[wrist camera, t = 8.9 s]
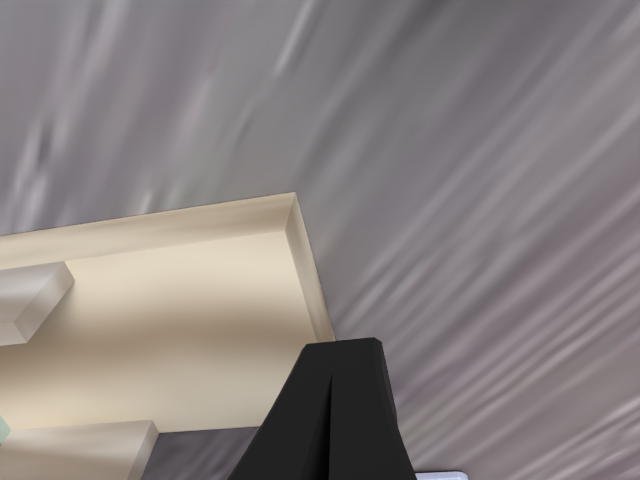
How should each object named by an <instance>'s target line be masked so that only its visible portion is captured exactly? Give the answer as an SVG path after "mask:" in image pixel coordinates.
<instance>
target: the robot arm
mask: <svg viewBox="0 0 640 480" xmlns="http://www.w3.org/2000/svg"><path fill="white" fill-rule="evenodd" d="M227 480H468V477H467V475H466V474H464V473H462V472H457V471H454V472H433V473H415V472H414V470H413V467H412V465H411V462H410V460H409V457H408V455H407V452H406V449H405V447H404V444H403V441H402V438H401V435H400V432H399V429H398V425H397V415H396V408H395V404H394V399H393V394H392V389H391V385H390V380H389V375H388V370H387V366H386V361H385V356H384V351H383V347H382V342H381V341H379V340H378V339H376V338H374V337H373V338H362V339H352V340H341V341H331V342H320V343H310V344H306V345H305V346H304V348H303V349H302V350H301V352H300V354H299V356H298V358H297V360H296V362H295V364H294V366H293V368H292V370H291V372H290V374H289V376H288V378H287V380H286V382H285V384H284V386H283V388H282V389H281V391H280V393H279V395H278V397H277V399H276V400H275V402H274V404H273V406H272V408H271V409H270V411H269V413H268V415H267V416H266V418H265V420H264V421H263V423H262V425H261V426H260V428H259V430H258V432H257V433H256V435H255V437H254V438H253V440H252V442H251V443H250V445H249V447H248V448H247V450H246V452H245V453H244V455H243V456H242V458H241V459H240V461H239V462H238V464H237V465H236V467H235V468H234V470H233V471H232V473H231V475H230V476H229V478H228V479H227Z"/></svg>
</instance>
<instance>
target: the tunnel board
mask: <svg viewBox="0 0 640 480" xmlns="http://www.w3.org/2000/svg"><path fill="white" fill-rule="evenodd" d="M331 341H335V337H334V333H333V329H332V326H331V322H330V318H329V315H328V311H327V307H326V303H325V300H324V296H323V292H322V288H321V285H320V281H319V277H318V274H317V270H316V266H315V262H314V259H313V255H312V251H311V247H310V244H309V240H308V236H307V233H306V229H305V225H304V221H303V218H302V214H301V210H300V206H299V203H298V199H297V195H296V192H291V193H285V194H278V195H272V196H265V197H258V198H252V199H245V200H238V201H232V202H225V203H219V204H212V205H205V206H199V207H192V208H185V209H179V210H172V211H166V212H159V213H152V214H146V215H139V216H133V217H126V218H119V219H113V220H106V221H99V222H93V223H86V224H80V225H73V226H66V227H60V228H53V229H46V230H40V231H33V232H27V233H20V234H13V235H7V236H0V443H2V444H1V446H0V480H140V479H141V477H142V474H143V472H144V469H145V467H146V465H147V462H148V460H149V457H150V455H151V452H152V450H153V447H154V445H155V442H156V440H157V437H158V435H159V433H164V432H179V431H194V430H209V429H224V428H239V427H253V426H261V425H262V423H263V421H264V420H265V418H266V416H267V415H268V413H269V411H270V409H271V408H272V406H273V404H274V402H275V400H276V399H277V397H278V395H279V393H280V391H281V389H282V388H283V386H284V384H285V382H286V380H287V378H288V376H289V374H290V372H291V370H292V368H293V366H294V364H295V362H296V360H297V358H298V356H299V354H300V352H301V350H302V349H303V348H304V346H305V345H306V344H310V343H320V342H331Z"/></svg>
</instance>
